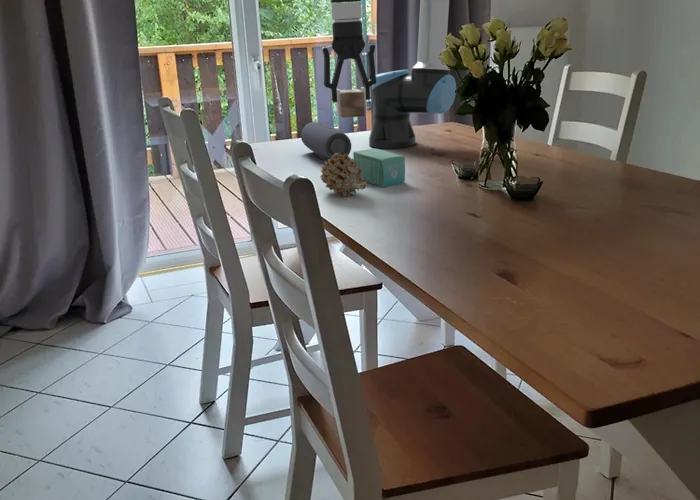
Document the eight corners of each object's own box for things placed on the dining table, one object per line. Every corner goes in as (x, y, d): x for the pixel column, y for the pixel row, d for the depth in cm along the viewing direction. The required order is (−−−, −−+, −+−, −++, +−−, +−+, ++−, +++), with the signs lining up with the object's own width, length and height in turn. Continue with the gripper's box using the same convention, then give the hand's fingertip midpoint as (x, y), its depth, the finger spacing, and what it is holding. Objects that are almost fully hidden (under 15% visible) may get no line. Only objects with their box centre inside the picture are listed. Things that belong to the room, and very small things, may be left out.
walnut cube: (360, 112, 186) (359, 88, 184) (364, 116, 181) (364, 91, 179) (338, 114, 185) (337, 90, 183) (342, 117, 180) (340, 92, 178)
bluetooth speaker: (354, 162, 206) (352, 128, 202) (324, 167, 202) (322, 132, 199) (328, 149, 226) (326, 118, 222) (300, 153, 222) (298, 121, 219)
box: (383, 188, 177) (382, 159, 174) (353, 179, 187) (352, 151, 185) (406, 183, 180) (405, 154, 178) (375, 174, 191) (374, 147, 189)
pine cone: (312, 190, 177) (309, 152, 174) (346, 184, 182) (344, 146, 178) (353, 210, 159) (350, 167, 156) (389, 203, 163) (388, 161, 160)
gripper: (380, 18, 180) (383, 109, 188) (307, 22, 177) (313, 114, 185) (387, 18, 173) (390, 112, 181) (311, 23, 170) (317, 118, 178)
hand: (351, 113), depth 183 cm, fingers closed on walnut cube, 6 cm apart
